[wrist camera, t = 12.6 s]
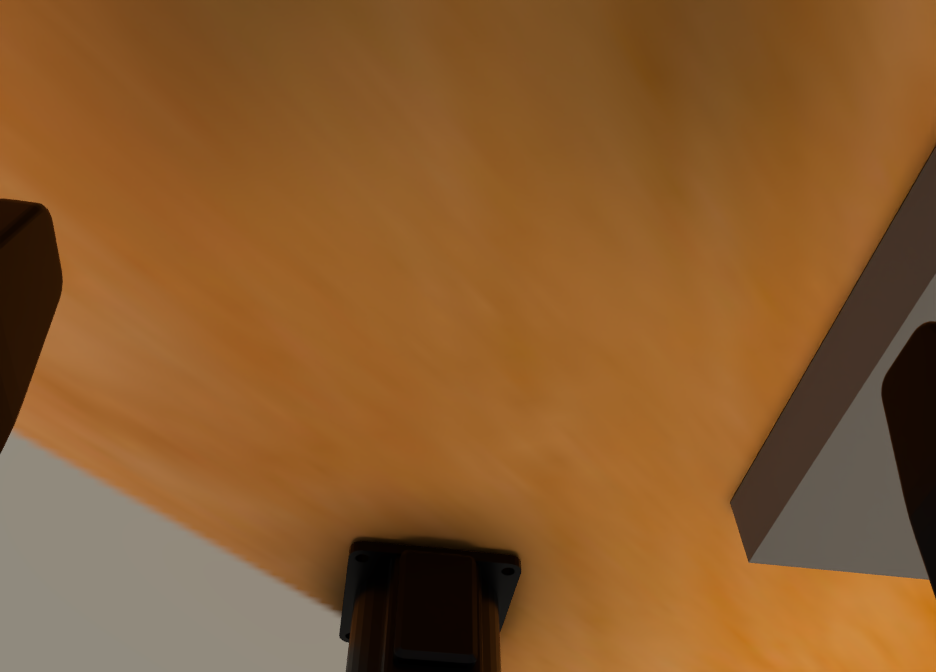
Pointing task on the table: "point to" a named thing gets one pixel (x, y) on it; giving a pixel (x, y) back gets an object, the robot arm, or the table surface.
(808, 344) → the table surface
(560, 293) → the table surface
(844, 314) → the socket board
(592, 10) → the table surface
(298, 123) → the table surface
